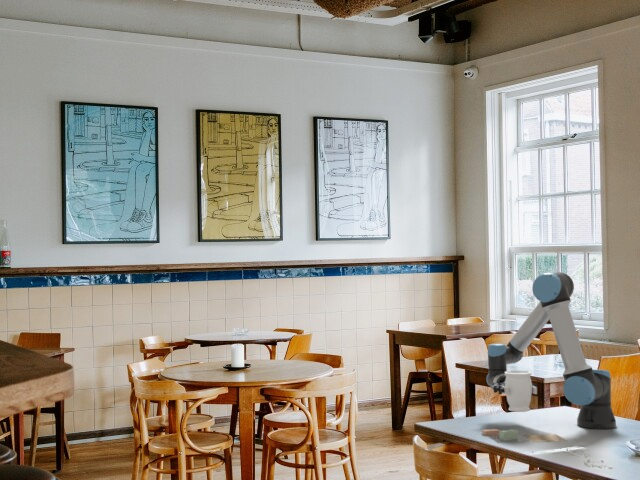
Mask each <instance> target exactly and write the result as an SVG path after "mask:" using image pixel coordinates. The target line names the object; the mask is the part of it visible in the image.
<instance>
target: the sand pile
mask: <svg viewBox="0 0 640 480" xmlns="http://www.w3.org/2000/svg"><path fill="white" fill-rule="evenodd" d="M522 436H524V437H525V439H526V438H527V439H528V440H530V441H531V442H533V443H535V442H536V443H542V442H543V443H544V442H546V443H547V442H548V443H549V442H568V439H565V438H564V437H563V436H560V435H559V434H555V433H554V434H553V433H549V434H523V435H522Z"/></svg>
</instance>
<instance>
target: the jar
mask: <svg viewBox="0 0 640 480" xmlns="http://www.w3.org/2000/svg"><path fill="white" fill-rule="evenodd" d="M506 371H507V370H506ZM505 375H506V379H505V387H507V388H509V395H506V402H507V404H508V406H509V407H508V409H507V410H508V411H510V412H514V413H516V412H517V413H525V412H529V411H531V408H530V404H531V401H532V394H533V393H532V383H533V382H532V379H531V376H532V372H531V371H527V370H508V371H507V372H505Z"/></svg>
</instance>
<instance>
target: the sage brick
mask: <svg viewBox="0 0 640 480" xmlns="http://www.w3.org/2000/svg"><path fill="white" fill-rule="evenodd" d="M517 435H518V430H516V429H505V430H504V429H503V430H500V431H499V435H498V436H499V439H501V440H513V439H517Z"/></svg>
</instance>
